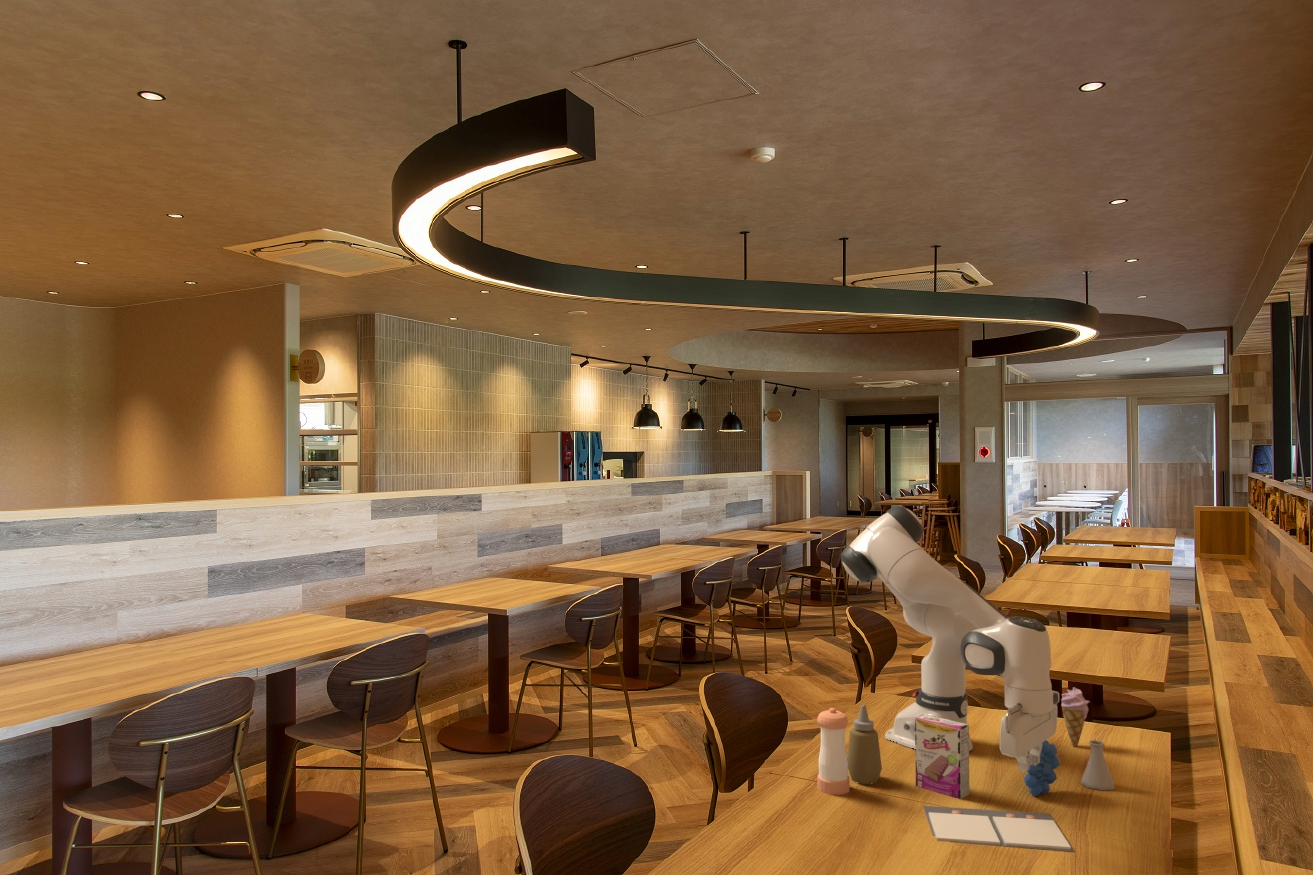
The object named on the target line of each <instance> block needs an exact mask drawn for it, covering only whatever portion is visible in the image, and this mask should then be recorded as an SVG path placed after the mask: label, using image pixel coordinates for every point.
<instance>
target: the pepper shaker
mask: <svg viewBox="0 0 1313 875" xmlns="http://www.w3.org/2000/svg"><path fill="white" fill-rule="evenodd" d="M816 721H817V725H819V727H820V749H819V757H818V774H817V777H816V780H817V781H816V782H817V783H816V784H817V785H816V786H817V787H816V788H817V789H818V790H819V791H820V792H821V793H823V794H827V795H834V796H837V795H840V796H841V795H847V794H848V793H850V777H849V776H850V775H848V774H849V770H848V760H847V758H848V753H847V750H846V734H845V732H846V731H845V730H846V728H847V727H848V724H849V719H848V717H847V715H846V714H845V713H843V712H841V711H840V710H836V708H834V707H830V708H829V709H828V710H827V709H826V710H824V711H821V712H819V714H818V716H817V718H816Z"/></svg>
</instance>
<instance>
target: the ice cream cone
mask: <svg viewBox="0 0 1313 875" xmlns="http://www.w3.org/2000/svg"><path fill="white" fill-rule="evenodd" d="M1066 690H1067V692H1066V693H1062V694H1061V697H1062V698H1061V705H1060V706H1061V709H1062V710H1061V711H1062V715H1063V719H1064V722H1065V725H1066V726H1065V727H1066V729H1067V734H1068V737H1069V740H1070V743H1071V746H1073V747H1078V746H1079V742H1080V740H1081V736H1082V732H1083V729H1084V724H1085V721H1086V719H1087V716H1088V712H1089V707H1088V704H1089V703H1091V701H1090V700H1088V699H1087V700H1086V699H1085V697H1084V695H1083V692H1082V690H1081V689H1078V688H1077V687H1072V689H1066Z"/></svg>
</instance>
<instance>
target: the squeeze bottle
mask: <svg viewBox="0 0 1313 875" xmlns="http://www.w3.org/2000/svg"><path fill="white" fill-rule="evenodd" d="M874 728H875V726H874V720H873V719H870V718H869V714H868V710H867V706H866V705H863V704H862V705H860V709H859V714H858V717H857V718H855V719H853V728H852V729H850V730H849V736H848V746H847V747H848V749H847V760H848V774H849V776H850V779H851V781H852V782H854V783H856V782H858V783H857V784H860V783H863V784H862V785H872V784H871V783H874V784H876V783H875V782H877V783H878V781H879V778H880V775H881V772H882V769H883V767H882V758H881V752H880V751H881V749H880V740H879V733H878V732H877V730H875V729H874Z"/></svg>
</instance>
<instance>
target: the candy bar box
mask: <svg viewBox="0 0 1313 875" xmlns="http://www.w3.org/2000/svg"><path fill="white" fill-rule="evenodd" d="M969 735H970V726H969V724H968V723H967V724H964V723H960V722H956V721H952V720H948V719H944V718H940V717H936V716H932V715H928V714H923V715H921V716H919V717H917V718H915V749H916V750H915V749H914V751H915V752H914V753H915V754H914V756H915V758H914V759H915V787H917V786H918V788H920V787H921V789H924V790H928V791H930V792H934V793H938V794H941V795H944V796H948V797H951V798H955V799H957V798H958V800H961V798H962V799H963V798H966V797H967V796H968V795H971V794H970V751H969Z"/></svg>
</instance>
